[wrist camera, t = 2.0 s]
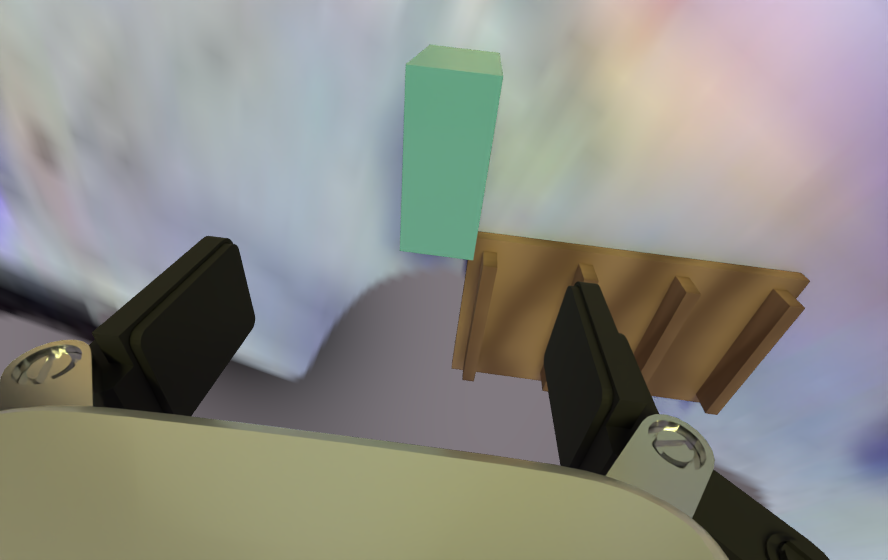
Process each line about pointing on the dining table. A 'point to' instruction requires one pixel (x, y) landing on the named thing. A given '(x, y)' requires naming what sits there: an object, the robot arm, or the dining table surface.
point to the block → (447, 148)
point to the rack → (625, 313)
